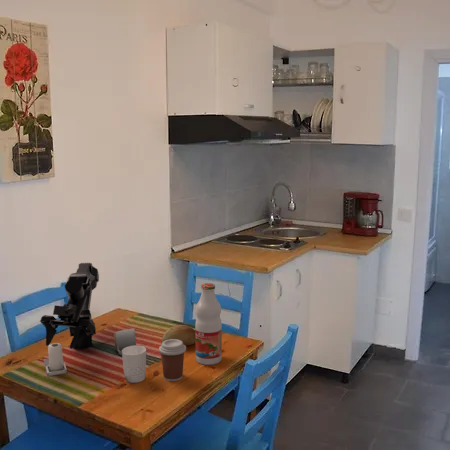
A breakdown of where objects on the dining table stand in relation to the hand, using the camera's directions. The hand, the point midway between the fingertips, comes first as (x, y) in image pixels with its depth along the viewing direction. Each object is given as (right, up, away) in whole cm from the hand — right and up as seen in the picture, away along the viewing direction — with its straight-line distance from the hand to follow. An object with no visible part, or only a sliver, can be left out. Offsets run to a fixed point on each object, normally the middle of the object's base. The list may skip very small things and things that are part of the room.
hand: (58, 347), depth 184 cm
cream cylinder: (-1, -8, 0) cm, 8 cm away
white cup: (+26, -10, -3) cm, 28 cm away
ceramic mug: (+19, -6, +21) cm, 29 cm away
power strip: (-2, -9, +4) cm, 10 cm away
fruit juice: (+51, -7, +12) cm, 52 cm away
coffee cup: (+39, -10, -2) cm, 40 cm away
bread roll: (+39, -5, +25) cm, 47 cm away
